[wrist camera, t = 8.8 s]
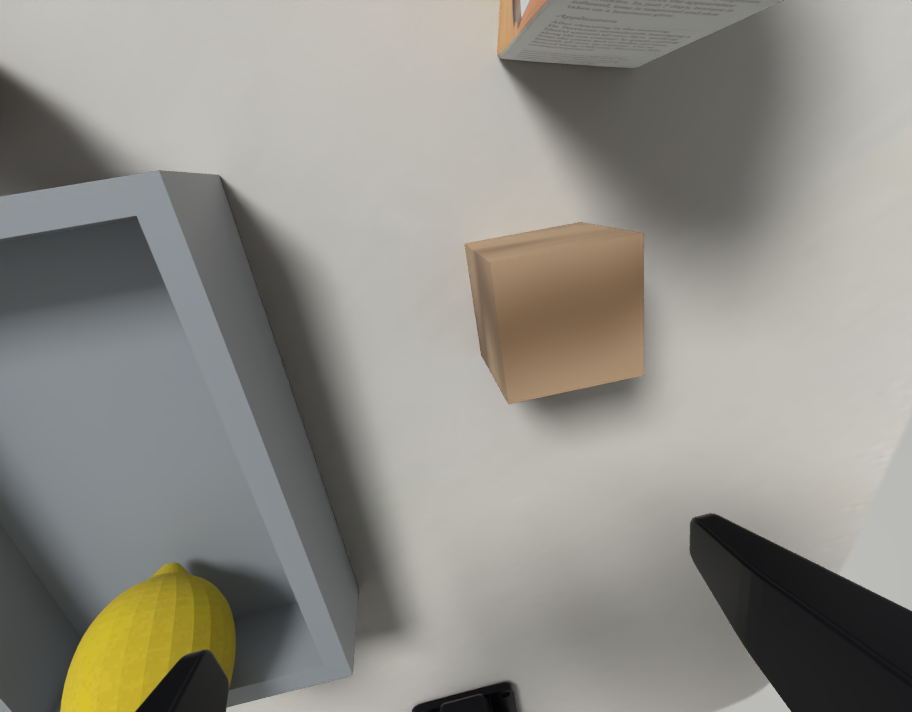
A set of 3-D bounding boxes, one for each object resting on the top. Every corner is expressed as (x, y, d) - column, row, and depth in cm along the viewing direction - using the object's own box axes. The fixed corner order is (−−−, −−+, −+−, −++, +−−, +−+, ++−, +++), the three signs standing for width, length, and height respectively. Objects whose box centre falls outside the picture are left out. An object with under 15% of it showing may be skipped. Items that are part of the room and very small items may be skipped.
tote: (359, 589, 24) (352, 675, 20) (90, 654, 23) (23, 759, 19) (218, 175, 16) (158, 170, 12) (-201, 245, 15) (-429, 267, 11)
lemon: (258, 537, 20) (251, 772, 15) (218, 581, 23) (201, 791, 18) (107, 537, 17) (34, 838, 12) (82, 589, 19) (15, 850, 14)
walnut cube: (585, 332, 20) (643, 375, 16) (480, 354, 20) (508, 404, 15) (580, 222, 19) (643, 233, 14) (463, 243, 18) (490, 262, 14)
